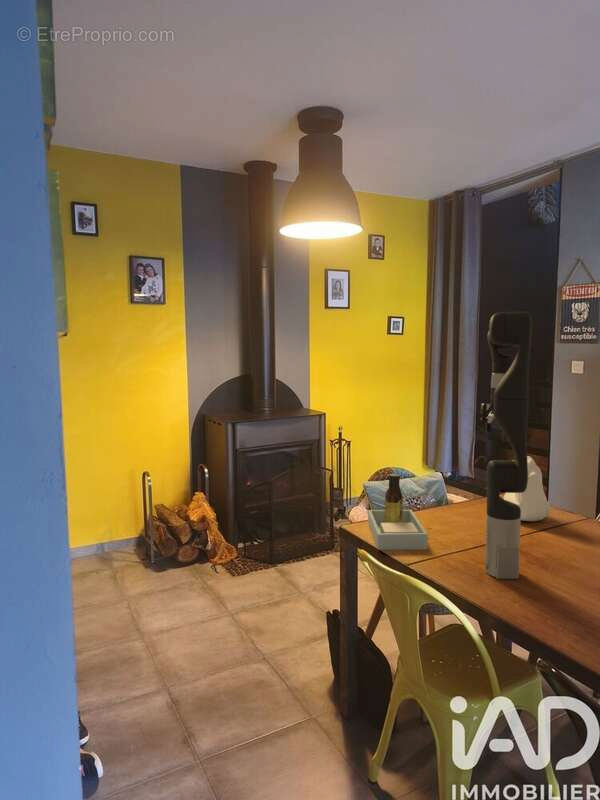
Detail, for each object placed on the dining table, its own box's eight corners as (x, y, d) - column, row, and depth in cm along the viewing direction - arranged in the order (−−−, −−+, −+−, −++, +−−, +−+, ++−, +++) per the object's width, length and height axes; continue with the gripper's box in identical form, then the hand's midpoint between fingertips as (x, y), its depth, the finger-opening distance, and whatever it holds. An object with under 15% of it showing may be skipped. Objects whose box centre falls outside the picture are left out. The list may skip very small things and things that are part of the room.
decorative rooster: (553, 528, 194) (556, 460, 191) (507, 525, 197) (509, 459, 195) (539, 507, 218) (541, 447, 216) (498, 505, 222) (500, 446, 219)
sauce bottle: (403, 532, 187) (405, 477, 185) (385, 532, 188) (386, 477, 186) (400, 526, 194) (402, 472, 192) (383, 526, 194) (384, 472, 192)
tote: (427, 552, 172) (427, 534, 172) (377, 552, 172) (377, 534, 172) (411, 525, 198) (411, 509, 197) (368, 525, 198) (368, 510, 198)
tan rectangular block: (418, 546, 175) (418, 531, 174) (384, 546, 175) (384, 531, 174) (412, 536, 183) (412, 522, 183) (380, 536, 184) (380, 522, 183)
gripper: (485, 387, 177) (484, 435, 179) (528, 387, 177) (526, 435, 179) (478, 385, 185) (477, 432, 186) (519, 385, 184) (517, 431, 186)
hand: (501, 433), depth 182 cm, fingers open, 8 cm apart
